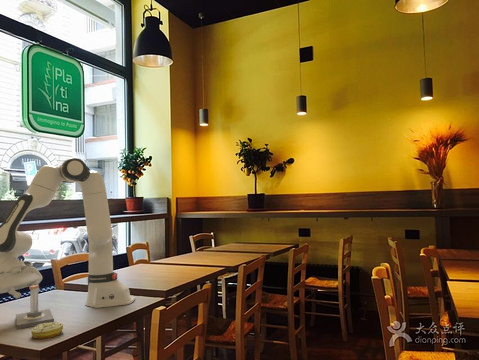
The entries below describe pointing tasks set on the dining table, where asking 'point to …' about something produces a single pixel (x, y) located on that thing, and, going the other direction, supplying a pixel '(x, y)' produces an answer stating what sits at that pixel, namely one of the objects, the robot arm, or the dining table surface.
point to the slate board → (33, 319)
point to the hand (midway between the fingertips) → (28, 294)
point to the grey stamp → (34, 302)
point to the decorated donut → (47, 330)
